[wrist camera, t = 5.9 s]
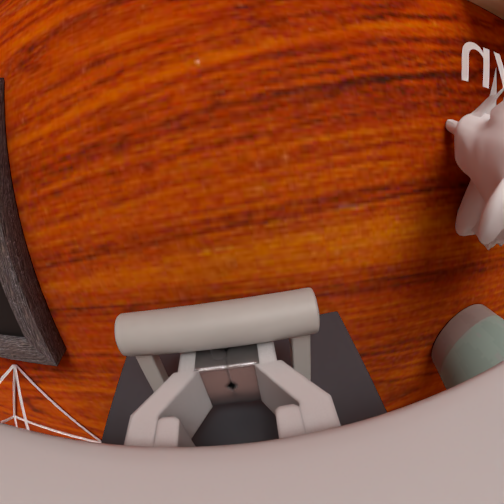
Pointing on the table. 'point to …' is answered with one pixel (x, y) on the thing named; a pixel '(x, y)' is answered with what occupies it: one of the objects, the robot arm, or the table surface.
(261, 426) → the open drawer with handle
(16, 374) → the geometric polyhedron
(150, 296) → the table surface
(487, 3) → the block
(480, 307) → the coffee cup
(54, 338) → the picture frame
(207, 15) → the table surface
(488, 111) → the figurine
